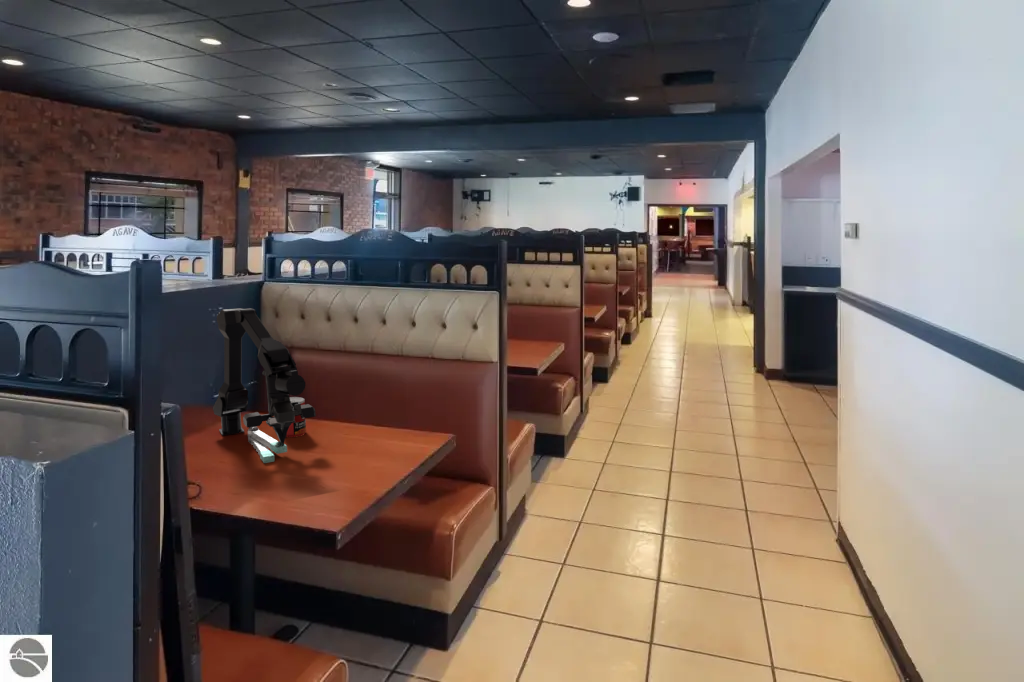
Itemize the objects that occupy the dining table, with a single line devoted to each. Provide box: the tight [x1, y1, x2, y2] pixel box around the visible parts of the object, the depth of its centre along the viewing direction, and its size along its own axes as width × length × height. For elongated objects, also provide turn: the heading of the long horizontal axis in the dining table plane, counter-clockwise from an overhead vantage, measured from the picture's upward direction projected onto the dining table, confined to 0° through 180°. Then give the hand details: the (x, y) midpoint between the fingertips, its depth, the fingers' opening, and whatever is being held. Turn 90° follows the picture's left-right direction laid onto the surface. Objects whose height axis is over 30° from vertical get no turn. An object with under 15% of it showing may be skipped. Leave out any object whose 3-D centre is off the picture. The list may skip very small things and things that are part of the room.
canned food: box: [286, 396, 307, 438], centre depth 200 cm, size 8×8×11 cm
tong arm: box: [247, 426, 288, 455], centre depth 186 cm, size 23×3×2 cm, turn 43°
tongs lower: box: [247, 436, 276, 464], centre depth 185 cm, size 23×3×2 cm, turn 33°
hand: (282, 444), depth 183 cm, fingers closed
